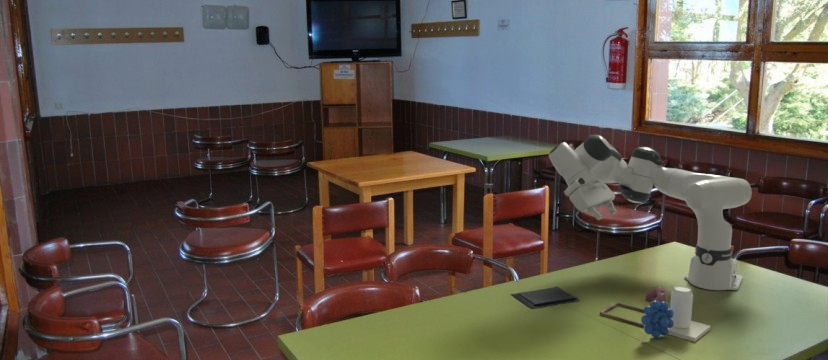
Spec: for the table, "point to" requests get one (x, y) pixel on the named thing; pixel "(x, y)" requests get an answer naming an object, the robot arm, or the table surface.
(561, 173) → the robot arm
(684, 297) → the beverage can
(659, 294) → the video game controller
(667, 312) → the grapes
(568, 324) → the table surface
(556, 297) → the dark grey flat block
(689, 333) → the brown bars cream slab
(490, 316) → the table surface
